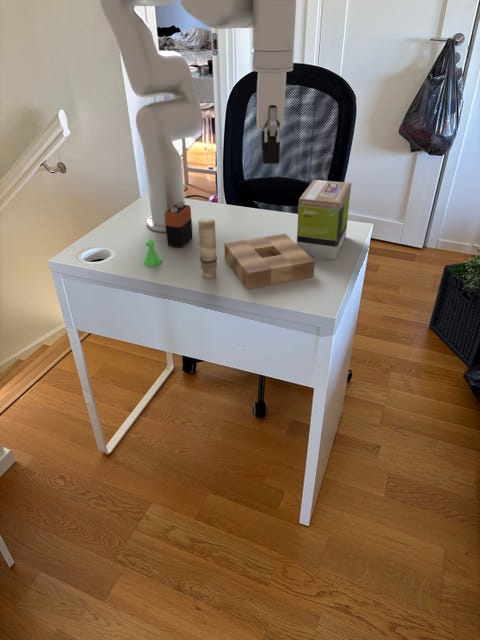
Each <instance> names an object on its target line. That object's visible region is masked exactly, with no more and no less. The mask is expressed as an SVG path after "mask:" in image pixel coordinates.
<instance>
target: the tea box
mask: <svg viewBox="0 0 480 640" xmlns="http://www.w3.org/2000/svg"><path fill="white" fill-rule="evenodd" d="M351 189H352V182H343V181H331V180H322V179H321V180H320V179H313V180H312V182H311V183H310V184H309V185H308V187H307V188H306V189H305V191H304V192H303V193H302V195H301V196H300V197H299V199H298V206H297V207H298V209H297V214H298V215H297V231H296V244H297V245H298V246H299V247H300V248H301V249H302V250H304V251H305V252H306V253H307V254H308V255H309V256H310V257H311V258H318V259H323V260H331V261H332V260H333V261H334V260H336V258H337V255H338V253H339V251H340V250H341V247H342V245H343V243H344V241H345V238H346V236H347V229H348V219H349V209H350V199H351V191H352V190H351Z"/></svg>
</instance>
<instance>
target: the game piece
mask: <svg viewBox="0 0 480 640" xmlns="http://www.w3.org/2000/svg"><path fill="white" fill-rule="evenodd" d="M155 242H156V241H155V240H152V239H147V240H146V241H145V247H146V248H148V249H147V252H146V256H145V257H144V259H143V265H145V266H146V267H157V266H159V265H161V263H162V258H161V257H160V256H159V255H158V254H157V252H156V249H154V247H156V245H155V244H156V243H155Z"/></svg>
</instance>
